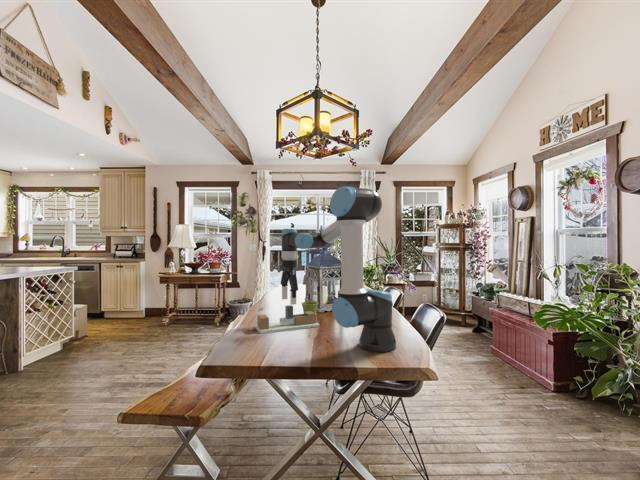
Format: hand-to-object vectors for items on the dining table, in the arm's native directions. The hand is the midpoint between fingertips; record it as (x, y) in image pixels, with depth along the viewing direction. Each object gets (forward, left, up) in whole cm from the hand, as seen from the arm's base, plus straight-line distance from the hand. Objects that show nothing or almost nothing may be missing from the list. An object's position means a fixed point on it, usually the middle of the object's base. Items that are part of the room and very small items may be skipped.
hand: (288, 301), depth 171 cm
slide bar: (0, -4, -11) cm, 12 cm away
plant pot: (+12, -16, -13) cm, 24 cm away
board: (0, +1, -13) cm, 13 cm away
